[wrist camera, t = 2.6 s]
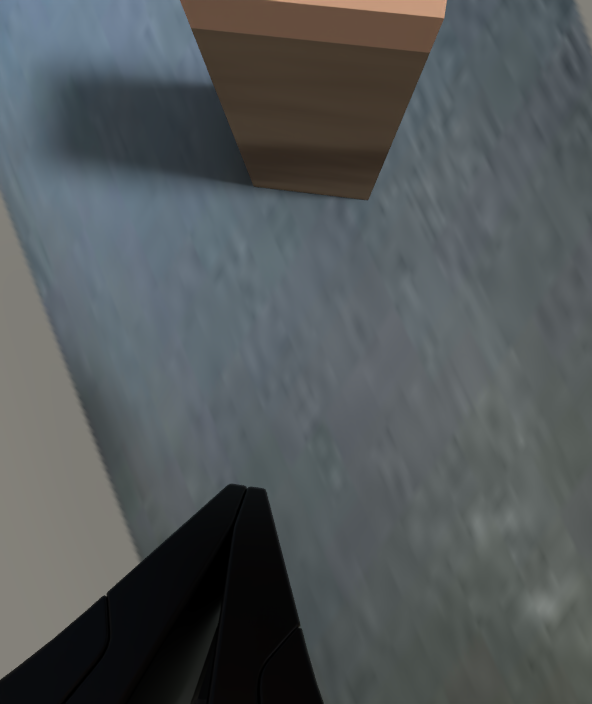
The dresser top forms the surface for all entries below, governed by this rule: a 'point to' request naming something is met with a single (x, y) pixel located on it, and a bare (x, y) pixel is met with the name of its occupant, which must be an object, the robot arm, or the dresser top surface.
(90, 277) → the dresser top surface
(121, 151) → the dresser top surface
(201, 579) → the robot arm
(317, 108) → the cardboard box
